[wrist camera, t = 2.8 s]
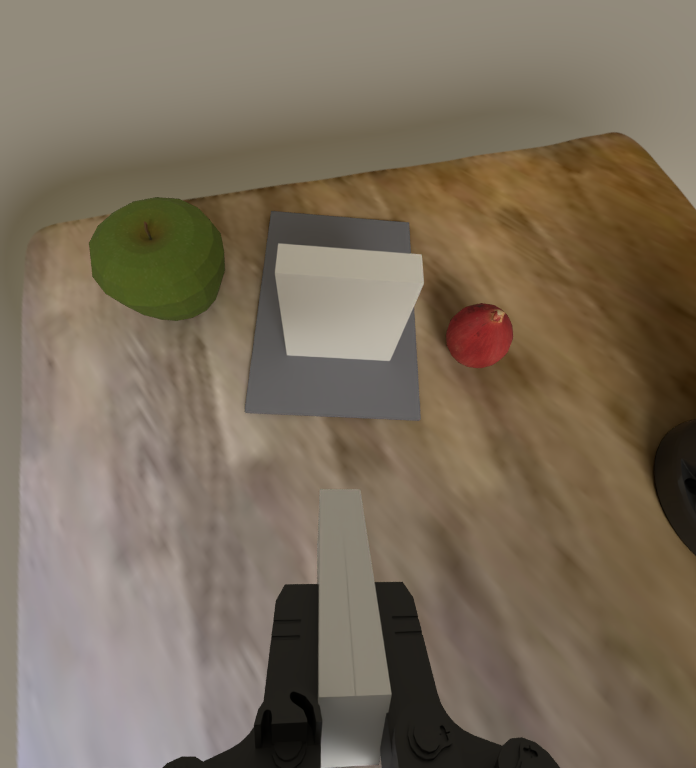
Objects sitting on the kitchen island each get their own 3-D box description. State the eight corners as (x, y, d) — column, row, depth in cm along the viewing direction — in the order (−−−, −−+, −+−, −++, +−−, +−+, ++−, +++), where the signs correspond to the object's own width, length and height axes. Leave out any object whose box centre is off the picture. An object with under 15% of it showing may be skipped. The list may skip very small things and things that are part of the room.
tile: (389, 361, 36) (423, 283, 25) (287, 355, 35) (274, 272, 24) (389, 336, 37) (421, 251, 26) (289, 330, 36) (278, 240, 25)
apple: (202, 241, 40) (169, 154, 31) (259, 305, 38) (241, 232, 29) (107, 290, 37) (39, 209, 28) (163, 365, 34) (108, 303, 25)
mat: (418, 420, 34) (420, 418, 34) (245, 412, 33) (244, 410, 33) (407, 226, 44) (408, 222, 43) (271, 215, 42) (271, 211, 42)
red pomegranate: (427, 336, 38) (454, 289, 31) (475, 324, 39) (513, 275, 32) (449, 386, 36) (484, 348, 29) (500, 372, 37) (546, 331, 30)
